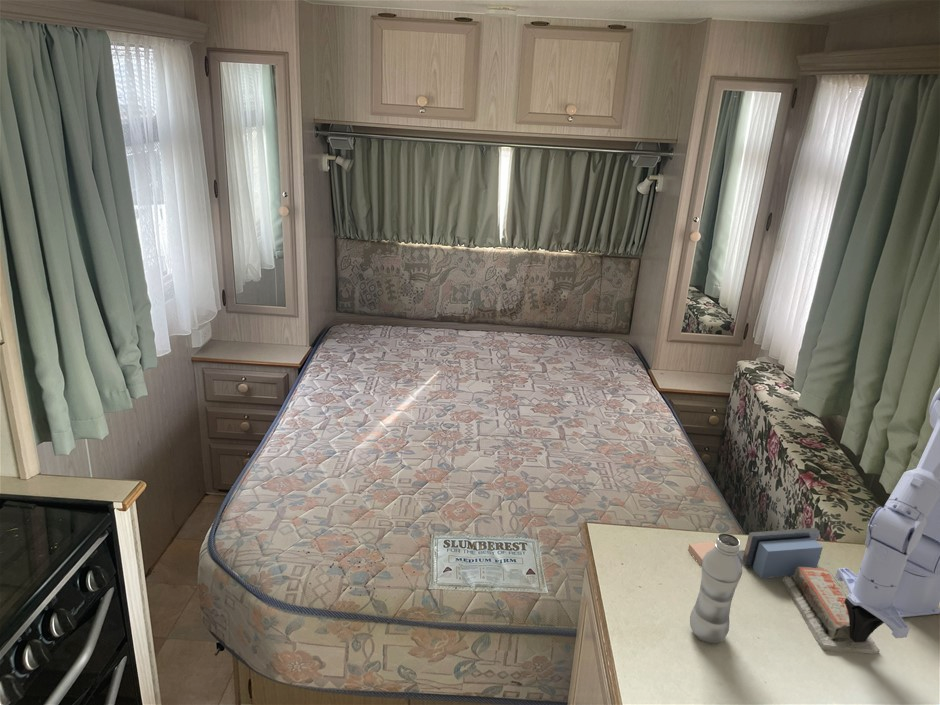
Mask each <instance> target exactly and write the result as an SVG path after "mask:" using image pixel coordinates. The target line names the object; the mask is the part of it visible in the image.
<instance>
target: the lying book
mask: <svg viewBox="0 0 940 705" xmlns="http://www.w3.org/2000/svg"><path fill="white" fill-rule="evenodd" d="M715 542H716V540H715V541H706V542H705V541H704V542H696V543H689V545H688V549H687V550H689V551H688V553H690V554H691V556H692V555H693V556H694V557H693V556H692V557H693V558H694V560H695V561H696V560H697V561H696V562H697V563H698V564H699V566H701V567H702V561H703V557H704V556H705V554H706V553H707V552H708V551H709V550H711V549H713V548H715ZM737 556H738V555H737Z"/></svg>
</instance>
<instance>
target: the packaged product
mask: <svg viewBox="0 0 940 705" xmlns="http://www.w3.org/2000/svg"><path fill="white" fill-rule="evenodd" d="M837 581H838V580H837V579H836V577H835V576H833V574H832V573H831V571H830V570H828V569H825V568H823V567H817V568H811V567H797V568H796V569H795V573H794V574H793V575H792V576H791V577H789V576H783V579H782V582H783V584H784V585H783V586H784V587H785V589H787V591H788V592H789V594H790V597H791V600H792V601H793V603H794V604H795V607H796V608H797V610H798V612H799V613H800V616H801V617H802V619H803V621H804V622H805V624H806V626H807V627H808V630H809V631H810V633H811V634H812V636H813V637H814V639H815V640H816V642H817V644H818V646H819V647H820V649H821V650H823V651H834V652H847V653H858V654H859V653H860V654H879V652H880V651H881V649H880V648H879V647H878V646H877V644H876V643H875V640H874V639H873V638H872V636H871V635H869V637H868V638H867V639H866V641H865V642H857V643H855V642H854V641H853V640H852V639H851V638H850V623H849V615H848V610H847V607H846V604H845V599H846V598H847V596H848V595H847V594H846V593H845V592H844V590H843V589H842V587H841V586H840V584H839V583H838V582H837Z"/></svg>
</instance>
